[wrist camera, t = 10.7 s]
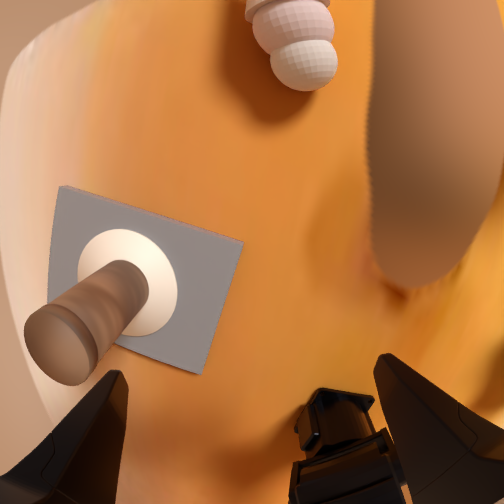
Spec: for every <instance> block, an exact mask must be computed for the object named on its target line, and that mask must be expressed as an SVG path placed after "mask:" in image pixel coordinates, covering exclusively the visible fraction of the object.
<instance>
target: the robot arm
mask: <svg viewBox="0 0 504 504" xmlns="http://www.w3.org/2000/svg"><path fill="white" fill-rule="evenodd" d="M373 374H374V379H375V383H376V387H377V391H378V395H379V399H380V403H381V407H382V410H383V413H384V416H385V419H386V422H387V424H388V427H389V430H390V433H391V436H392V439H393V441H392V439H391V437H390V435H389V433H388V431H387V429H386V427H385V428H383V429H381V430H380V431H378V432H376V431H375V428H374V426H373V423H372V421H371V419H370V416H369V414H368V410H369V409H370V407H371V406H372V405H373V403H374V401H375V399H374V397H373V396H371V395H364V394H357V393H351V392H345V391H339V390H334V389H328V388H320V389H318V390H317V392H316V393H315V395H314V397H313V398H312V400H311V402H310V403H309V404H308V405H307V406H306V407H305V409H304V410H303V412H302V414H301V415H300V417H299V418H298V420H297V424H296V426H295V427H294V431H295V433H298V434H299V441H300V448H301V450H302V451H305V453H306V460H302V461H296V462H293V467H292V471H291V479H290V487H289V495H288V496H289V501H288V504H406V502H405V499H404V496H403V493H402V490H401V486H404V485H406V484H407V485H408V488H409V491H410V494H411V498H412V502H413V504H504V429H502V428H500V427H498V426H496V425H495V424H493V423H491V422H489V421H488V420H486V419H484V418H482V417H481V416H479V415H477V414H476V413H474V412H473V411H471V410H470V409H468V408H467V407H465V406H464V405H462V404H461V403H460V402H458V401H457V400H455V399H454V398H453V397H451V396H450V395H448V394H447V393H446V392H444V391H443V390H441V389H440V388H439V387H437V386H436V385H434V384H433V383H432V382H430V381H429V380H427V379H426V378H425V377H423V376H422V375H420V374H419V373H418V372H416V371H415V370H413V369H412V368H411V367H409V366H408V365H406V364H405V363H404V362H402V361H401V360H400V359H398V358H397V357H395V356H394V355H393V354H391V353H386V354H381V355H380V356H379V357H378V360H377V362H376V365H375V367H374V371H373ZM128 391H129V389H128V384H127V382H126V380H125V378H124V375H123V373H122V372H121V371H120V370H109V371H108V372H107V373H106V374H105V375H104V376H103V377H102V378H101V379H100V380H99V381H98V383H97V384H96V385H95V386H94V387H93V388H92V389H91V390H90V391H89V392H88V393H87V394H86V395H85V396H84V397H83V398H82V399H81V400H80V401H79V403H78V404H77V405H76V406H75V407H74V408H73V409H72V410H71V411H70V412H69V413H68V414H67V415H66V416H65V417H64V419H63V420H62V421H61V422H60V423H59V424H58V425H57V426H56V427H55V428H54V429H53V431H52V433H49V435H48V436H47V437H46V438H45V439H44V440H43V441H42V442H41V443H40V444H39V445H38V446H37V447H36V448H35V449H34V450H33V451H32V452H31V453H30V454H28V455H27V456H26V457H25V458H24V459H23V460H21V461H20V462H19V463H18V464H17V465H16V466H14V467H13V468H12V469H11V470H10V471H8V472H7V473H5V474H4V475H2V476H0V504H115V501H116V492H117V484H118V476H119V469H120V462H121V455H122V449H123V443H124V437H125V430H126V420H127V404H128ZM322 392H324V393H322ZM369 400H370V401H369ZM393 442H394V443H393Z"/></svg>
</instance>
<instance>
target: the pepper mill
mask: <svg viewBox="0 0 504 504" xmlns="http://www.w3.org/2000/svg"><path fill="white" fill-rule="evenodd" d="M148 296H149V286H148V282H147V279H146V277H145V275H144V274H143V272H142V271H141V270H140V269H139V268H138V267H137V266H136V265H134V264H133V263H131V262H129V261H126V260H114V261H112V262H110V263H108V264H107V265H105V266H104V267H102V268H100V269H99V270H97V271H96V272H94V273H93V274H91V275H90V276H88V277H87V278H85V279H84V280H82V281H81V282H79V283H78V284H76V285H75V286H73V287H72V288H70V289H69V290H67V291H66V292H64V293H63V294H61V295H60V296H58V297H57V298H56V299H54V300H53V301H51V302H50V303H48V304H47V305H44V306H43V307H41V308H40V309H38V310H37V311H36V312H34V313H33V314H31V315H30V316H29V318H28V319H27V321H26V323H25V326H24V338H25V343H26V346H27V348H28V351H29V353H30V355H31V357H32V358H33V360H34V361H35V363H36V364H37V365H38V366H39V368H40V369H41V370H42V371H43V372H44V373H45V374H46V375H48V376H49V377H50V378H52V379H53V380H55V381H57V382H59V383H61V384H64V385H68V386H76V385H79V384H81V383H83V382H84V381H85V380H86V379H87V378H88V377H89V376H90V374H91V373H92V372H93V370H94V369H95V367H96V366H97V364H98V362H99V361H100V360H101V358H102V357H103V356H104V355H105V353H106V352H107V351H108V350H109V348H110V347H111V346H112V344H113V343H114V342H115V341H116V339H117V338H118V337H119V336H120V334H121V333H122V332H123V331H124V329H125V328H126V327H127V326H128V325H129V323H130V322H131V321H132V320H133V318H134V317H135V316H136V315H137V314H138V312H139V311H140V310H141V309H142V307H143V306H144V305H145V304H146V302H147V300H148Z"/></svg>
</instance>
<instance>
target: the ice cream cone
mask: <svg viewBox="0 0 504 504" xmlns="http://www.w3.org/2000/svg"><path fill="white" fill-rule="evenodd" d="M329 5H330V1H329V0H247V2H246V10H245V20H246V21H247V22H249V23H252V24H253V26H252V28H253V34H254V36H255V39H256V41H257V42H258V44H259V45H260V46H261V48H262V49H263V50H264V51H265V52H266V53H268V54H269V55H270V63H271V68H272V70H273V72H274V74H275V75H276V77H277V78H278V79H279V80H280V81H281V82H282V83H283V84H284V85H286V86H287V87H290V88H292V89H295V90H299V91H313V90H317V89H319V88H322V87H324V86H325V85H326V84H328V83H329V82H330V81H331V79H332V78H333V77H334V75H335V73H336V70H337V64H338V60H337V54H336V52H335V50H334V48H333V46H332V45H331V41H332V39H333V35H334V23H333V19H332V17H331V15H330V13H329V11H328V9H327V7H328V6H329Z"/></svg>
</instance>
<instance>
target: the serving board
mask: <svg viewBox="0 0 504 504" xmlns="http://www.w3.org/2000/svg"><path fill="white" fill-rule="evenodd" d="M243 244H244V242H242V241H239V240H236V239H233V238H230V237H227V236H224V235H221V234H218V233H215V232H211V231H208V230H205V229H202V228H199V227H196V226H193V225H190V224H187V223H184V222H180V221H177V220H174V219H171V218H168V217H165V216H162V215H159V214H155V213H152V212H149V211H146V210H143V209H140V208H137V207H133V206H130V205H127V204H124V203H121V202H118V201H114V200H111V199H108V198H105V197H102V196H99V195H95V194H92V193H89V192H86V191H83V190H80V189H76V188H73V187H70V186H59V190H58V196H57V201H56V207H55V214H54V221H53V228H52V237H51V246H50V257H49V271H48V296H47V304H48V303H50V302H51V301H53V300H54V299H56V298H57V297H58V296H60V295H61V294H63V293H64V292H66V291H67V290H69V289H70V288H72V287H73V286H75V285H76V284H78V283H79V282H81V281H82V280H84V279H85V278H87V277H88V276H90V275H91V274H93V273H94V272H96V271H97V270H99V269H100V268H102V267H104V266H105V265H107V264H108V263H110V262H112V261H114V260H126V261H129V262H131V263H133V264H134V265H136V266H137V267H138V268H139V269H140V270H141V271H142V272H143V274H144V275H145V277H146V279H147V282H148V286H149V296H148V300H147V302H146V304H145V305H144V306H143V307H142V309H141V310H140V311H139V312H138V314H137V315H136V316H135V317H134V318H133V320H132V321H131V322H130V323H129V325H128V326H127V327H126V328H125V329H124V331H123V332H122V333H121V334H120V336H119V337H118V338H117V339H116V341H115V342H114V343H115V344H117V345H120V346H122V347H125V348H127V349H130V350H132V351H135V352H137V353H140V354H142V355H145V356H148V357H150V358H153V359H156V360H158V361H161V362H164V363H167V364H169V365H172V366H175V367H178V368H181V369H184V370H187V371H190V372H193V373H196V374H200V375H201V374H202V371H203V368H204V365H205V362H206V359H207V355H208V352H209V349H210V346H211V343H212V340H213V337H214V334H215V330H216V327H217V324H218V321H219V318H220V315H221V312H222V309H223V306H224V303H225V300H226V296H227V293H228V290H229V287H230V284H231V281H232V278H233V275H234V272H235V269H236V266H237V263H238V260H239V257H240V254H241V251H242V248H243Z"/></svg>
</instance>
